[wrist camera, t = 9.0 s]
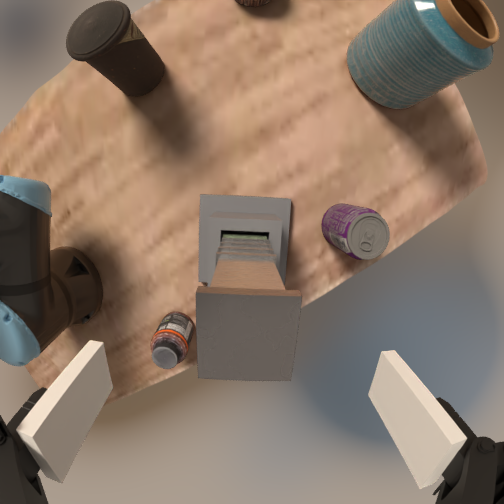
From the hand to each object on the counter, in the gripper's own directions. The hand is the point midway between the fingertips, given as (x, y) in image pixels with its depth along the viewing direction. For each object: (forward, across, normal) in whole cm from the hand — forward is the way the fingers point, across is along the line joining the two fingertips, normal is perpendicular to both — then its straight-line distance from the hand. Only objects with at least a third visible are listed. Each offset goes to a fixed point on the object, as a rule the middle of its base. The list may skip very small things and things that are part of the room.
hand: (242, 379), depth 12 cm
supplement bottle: (+36, -11, -16) cm, 41 cm away
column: (+27, 0, 0) cm, 27 cm away
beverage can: (+36, +16, +3) cm, 40 cm away
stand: (+36, 0, 0) cm, 36 cm away
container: (+36, -19, +28) cm, 50 cm away
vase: (+36, +24, +33) cm, 55 cm away
